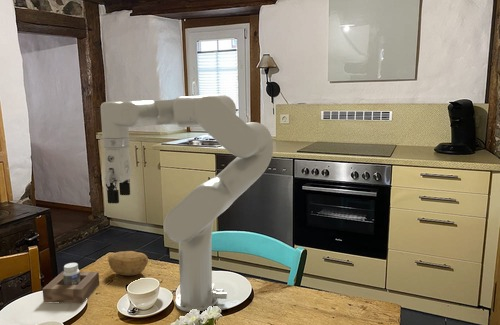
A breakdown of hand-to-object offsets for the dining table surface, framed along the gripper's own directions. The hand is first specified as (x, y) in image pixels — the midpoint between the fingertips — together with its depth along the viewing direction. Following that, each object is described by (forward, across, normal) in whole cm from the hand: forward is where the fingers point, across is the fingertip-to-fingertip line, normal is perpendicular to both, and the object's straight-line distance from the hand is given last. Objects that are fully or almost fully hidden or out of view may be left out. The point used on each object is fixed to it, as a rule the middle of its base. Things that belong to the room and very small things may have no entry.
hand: (119, 198), depth 122 cm
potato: (+31, +12, +3) cm, 33 cm away
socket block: (+30, -2, +16) cm, 34 cm away
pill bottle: (+29, -2, +16) cm, 33 cm away
